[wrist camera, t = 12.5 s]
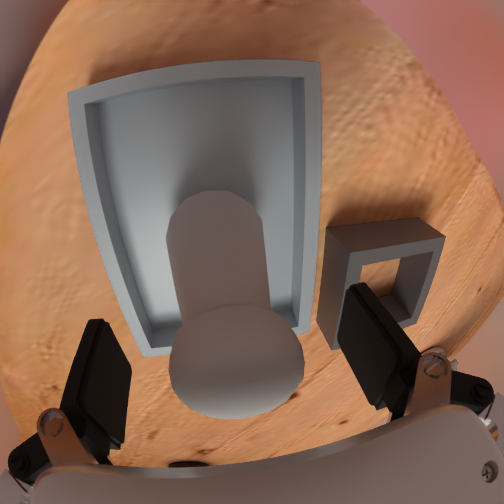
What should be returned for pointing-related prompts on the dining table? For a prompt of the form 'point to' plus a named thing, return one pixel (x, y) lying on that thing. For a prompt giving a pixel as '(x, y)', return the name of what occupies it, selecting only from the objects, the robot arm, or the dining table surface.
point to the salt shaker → (227, 312)
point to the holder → (372, 251)
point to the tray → (201, 175)
